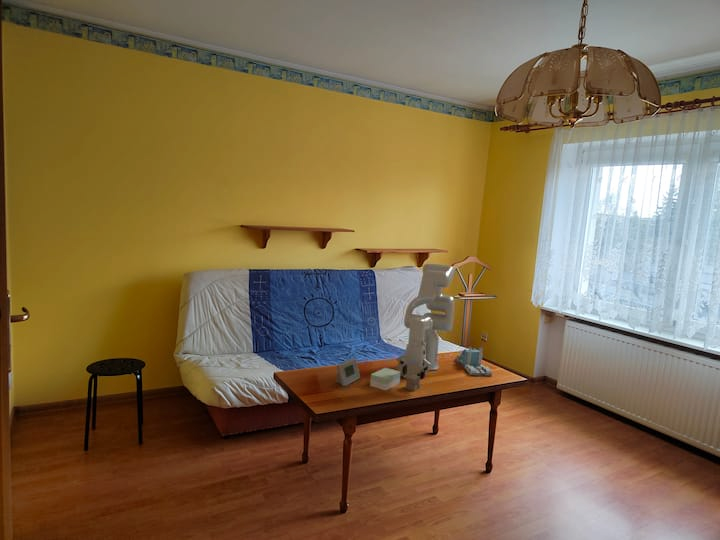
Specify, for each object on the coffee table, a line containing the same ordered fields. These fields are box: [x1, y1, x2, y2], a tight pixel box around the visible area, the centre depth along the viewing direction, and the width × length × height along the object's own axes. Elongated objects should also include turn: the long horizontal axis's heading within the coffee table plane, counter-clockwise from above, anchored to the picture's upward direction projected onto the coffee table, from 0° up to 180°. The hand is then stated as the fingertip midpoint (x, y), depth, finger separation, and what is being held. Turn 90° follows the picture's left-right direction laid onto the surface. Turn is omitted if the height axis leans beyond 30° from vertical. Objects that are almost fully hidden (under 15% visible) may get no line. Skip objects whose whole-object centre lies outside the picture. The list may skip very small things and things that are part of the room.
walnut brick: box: [405, 374, 421, 392], centre depth 232 cm, size 5×5×6 cm
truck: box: [454, 344, 493, 377], centre depth 270 cm, size 12×29×15 cm, turn 6°
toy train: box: [396, 357, 429, 379], centre depth 250 cm, size 6×17×10 cm, turn 113°
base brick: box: [369, 367, 401, 391], centre depth 235 cm, size 14×9×6 cm, turn 146°
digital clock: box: [336, 357, 361, 387], centre depth 235 cm, size 16×9×11 cm, turn 138°
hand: (413, 376), depth 231 cm, fingers open, 9 cm apart
